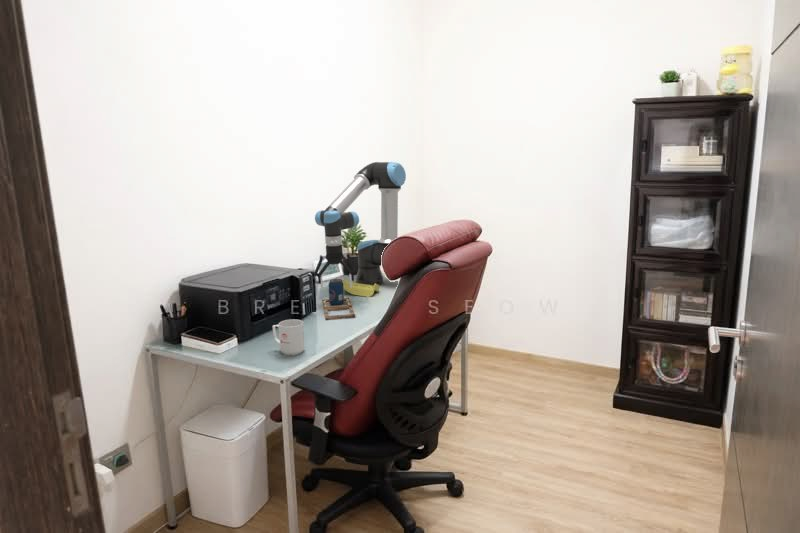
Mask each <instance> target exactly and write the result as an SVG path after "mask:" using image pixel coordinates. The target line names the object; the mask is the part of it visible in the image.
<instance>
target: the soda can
mask: <svg viewBox="0 0 800 533" xmlns="http://www.w3.org/2000/svg"><path fill="white" fill-rule="evenodd" d="M341 279H342V278H339V279H338V278H334V279H330V280H329V282H328V299H329V303H328V304H330V305H329V306H338V305H345V304H344V303H345V301H344V298H345V289H344V287H343V282H342V280H341Z"/></svg>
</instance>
